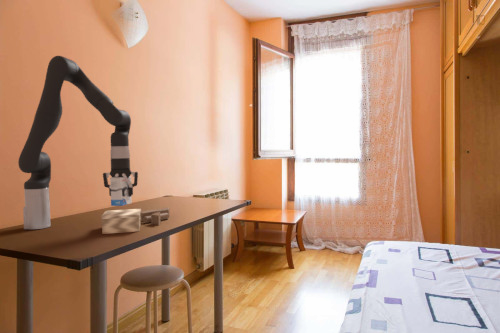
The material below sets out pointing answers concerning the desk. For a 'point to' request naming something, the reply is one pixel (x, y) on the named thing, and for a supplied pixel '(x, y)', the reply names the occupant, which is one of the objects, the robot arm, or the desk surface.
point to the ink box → (119, 191)
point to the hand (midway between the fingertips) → (121, 196)
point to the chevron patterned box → (121, 221)
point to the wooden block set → (154, 216)
